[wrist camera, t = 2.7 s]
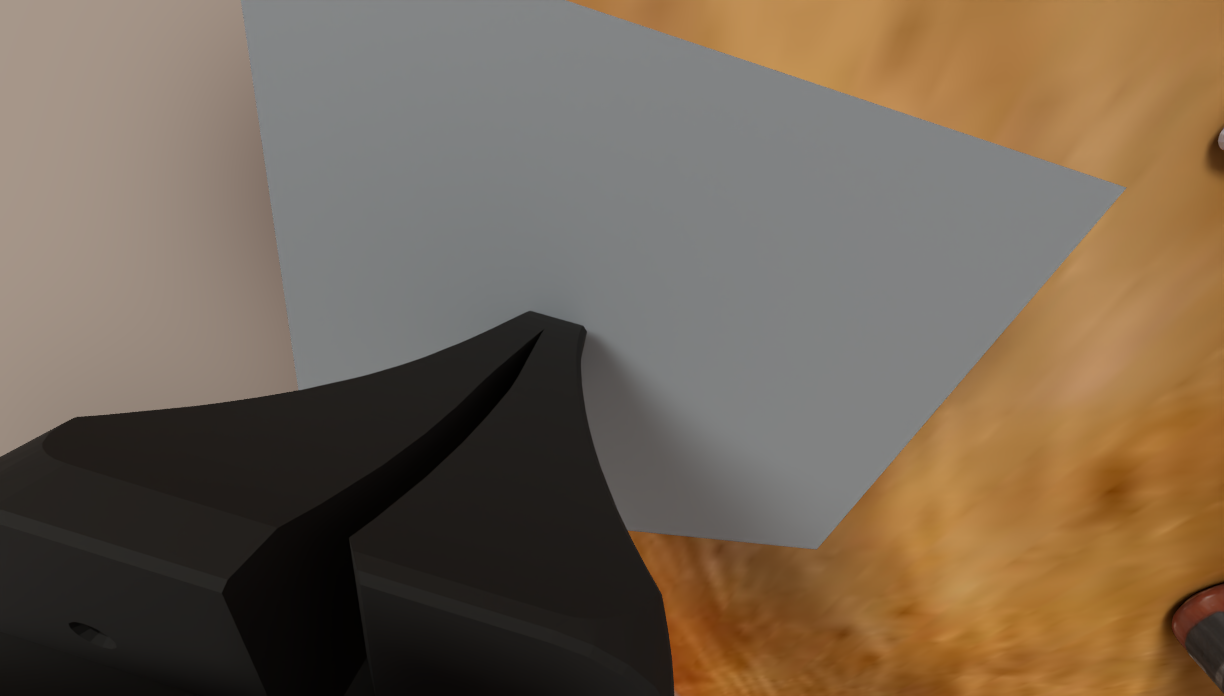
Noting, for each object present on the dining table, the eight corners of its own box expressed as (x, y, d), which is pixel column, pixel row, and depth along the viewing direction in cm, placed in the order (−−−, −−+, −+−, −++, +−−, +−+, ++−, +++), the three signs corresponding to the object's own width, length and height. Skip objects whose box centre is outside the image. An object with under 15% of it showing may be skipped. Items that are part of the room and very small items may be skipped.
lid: (1097, 180, 9) (1126, 187, 9) (809, 534, 16) (816, 549, 16) (252, -101, 6) (224, -114, 6) (324, 481, 13) (314, 498, 12)
